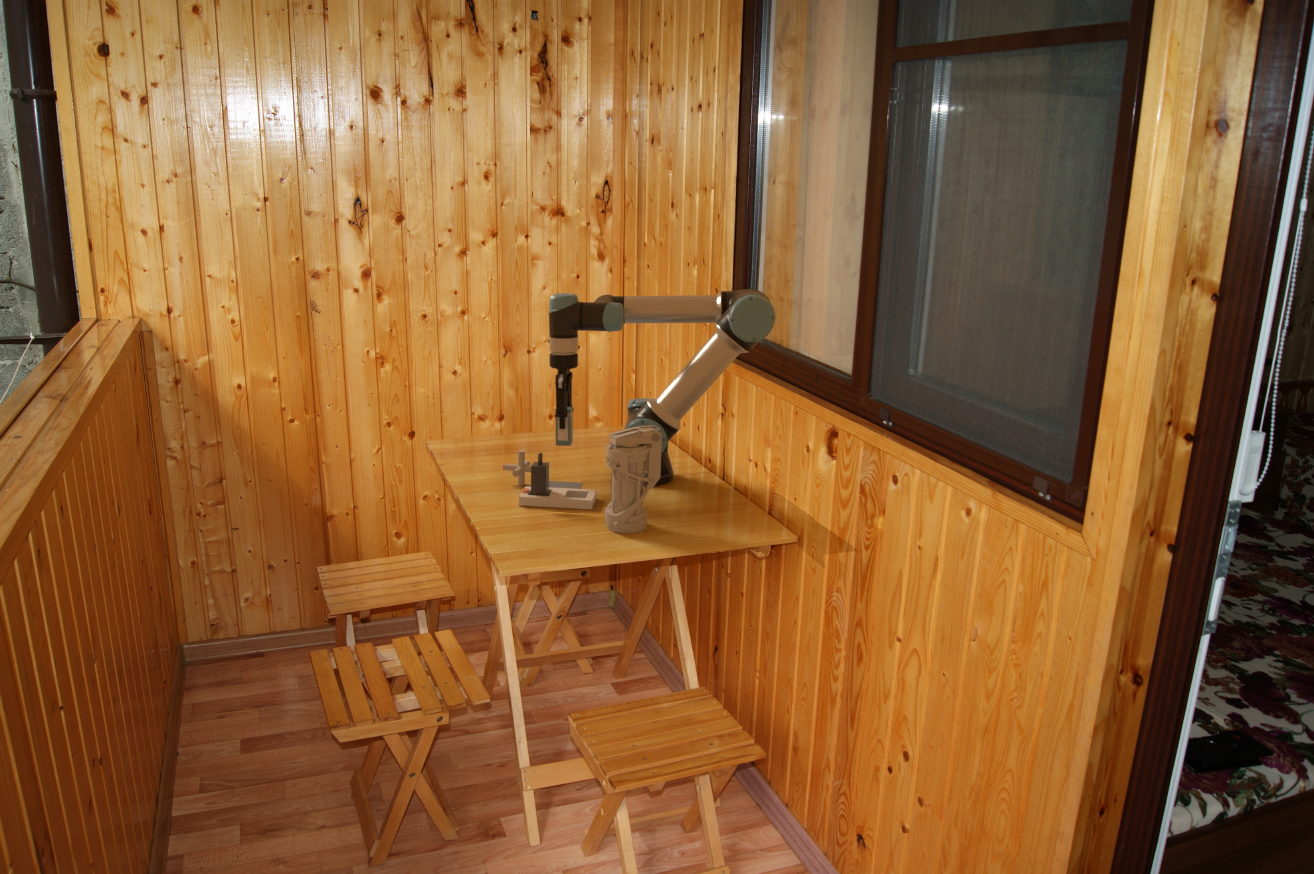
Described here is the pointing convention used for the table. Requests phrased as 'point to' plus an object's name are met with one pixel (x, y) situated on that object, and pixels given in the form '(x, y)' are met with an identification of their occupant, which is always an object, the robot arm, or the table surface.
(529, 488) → the power strip
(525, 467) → the pipe connector
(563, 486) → the pad
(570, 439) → the plug
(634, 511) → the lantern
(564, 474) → the table surface
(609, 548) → the table surface
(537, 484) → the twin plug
